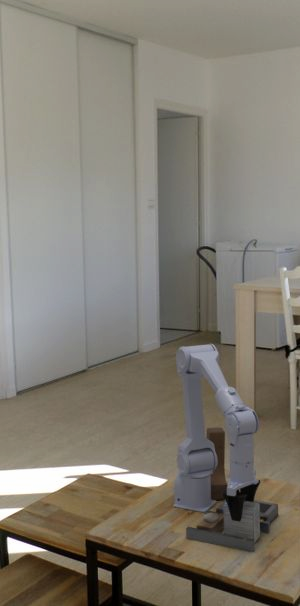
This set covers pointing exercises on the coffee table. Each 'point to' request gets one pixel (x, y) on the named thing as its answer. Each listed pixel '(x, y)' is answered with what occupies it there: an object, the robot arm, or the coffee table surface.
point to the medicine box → (244, 521)
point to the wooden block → (219, 473)
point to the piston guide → (225, 536)
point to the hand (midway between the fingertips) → (241, 514)
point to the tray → (266, 510)
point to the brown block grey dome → (212, 522)
